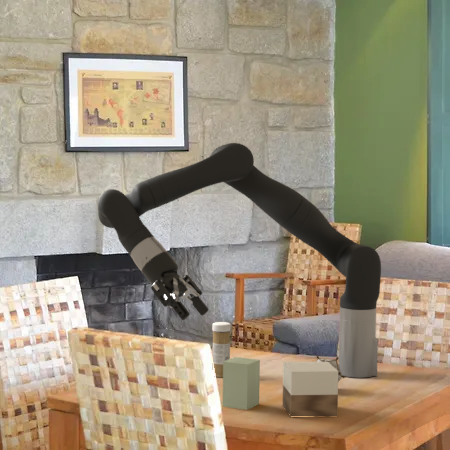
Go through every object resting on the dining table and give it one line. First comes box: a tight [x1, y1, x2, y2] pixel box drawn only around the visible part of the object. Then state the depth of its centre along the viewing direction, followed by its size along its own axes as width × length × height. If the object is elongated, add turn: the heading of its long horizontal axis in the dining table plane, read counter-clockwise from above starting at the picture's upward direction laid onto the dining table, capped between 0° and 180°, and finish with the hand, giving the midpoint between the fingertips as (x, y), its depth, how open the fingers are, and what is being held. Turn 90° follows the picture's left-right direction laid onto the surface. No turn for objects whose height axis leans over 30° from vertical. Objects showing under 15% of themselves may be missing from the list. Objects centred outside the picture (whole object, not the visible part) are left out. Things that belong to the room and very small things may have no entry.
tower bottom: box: [282, 384, 339, 417], centre depth 208 cm, size 10×10×5 cm
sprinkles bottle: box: [211, 321, 232, 378], centre depth 241 cm, size 5×5×13 cm
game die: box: [315, 355, 346, 383], centre depth 227 cm, size 9×8×10 cm
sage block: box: [222, 356, 261, 411], centre depth 212 cm, size 6×6×10 cm
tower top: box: [282, 361, 339, 396], centre depth 207 cm, size 10×10×5 cm
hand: (196, 315), depth 216 cm, fingers open, 8 cm apart
